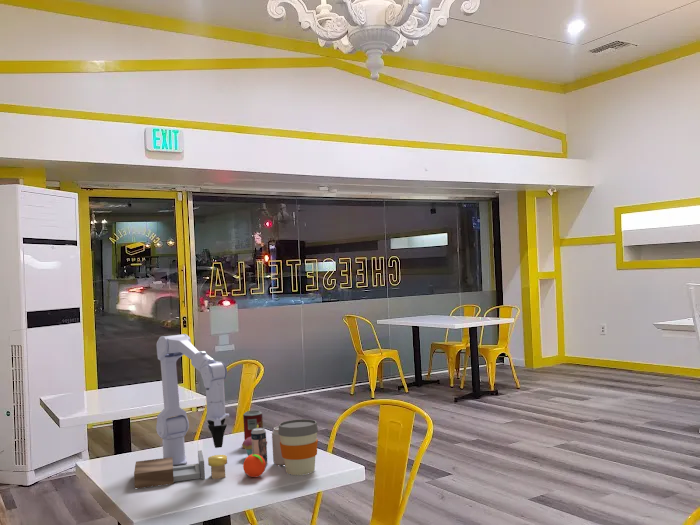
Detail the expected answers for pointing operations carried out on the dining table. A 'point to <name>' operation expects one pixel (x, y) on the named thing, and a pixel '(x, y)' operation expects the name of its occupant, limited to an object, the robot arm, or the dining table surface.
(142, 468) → the housing
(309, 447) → the reusable coffee cup
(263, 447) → the beer can
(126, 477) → the dining table surface
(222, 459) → the yellow flat dome
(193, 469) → the tray
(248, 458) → the clementine
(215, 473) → the block
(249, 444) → the cupcake
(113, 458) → the dining table surface
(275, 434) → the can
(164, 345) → the robot arm
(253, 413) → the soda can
